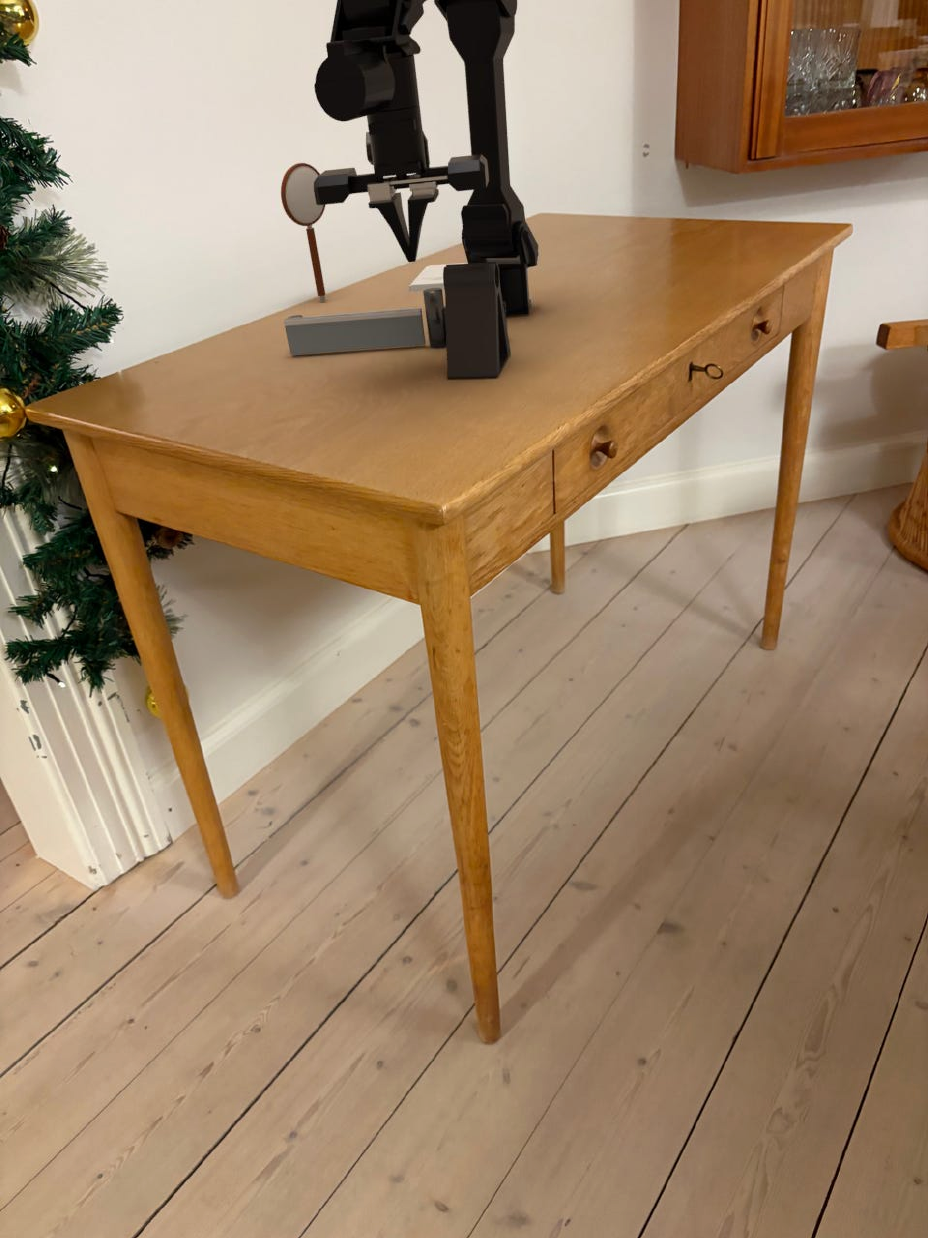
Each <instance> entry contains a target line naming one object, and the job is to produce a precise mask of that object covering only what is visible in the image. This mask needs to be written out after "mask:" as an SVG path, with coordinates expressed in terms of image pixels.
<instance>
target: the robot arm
mask: <svg viewBox="0 0 928 1238" xmlns="http://www.w3.org/2000/svg"><path fill="white" fill-rule="evenodd" d="M426 1H428V0H336V6H335V10H334V11H335V12H334V18H333V22H332V23H333V24H332V29H331V35H330V40H329V42H326V43H325V44H326V45H325V48H326V53H327V57H326V58H325V59H324V60H323V61H322V62H321V63H320V65H319V67H318V69H317V73H316V76H315V82H314V87H313V88H314V93H315V96H316V101H317V102H318V104H319V107H320V108H321V109H322V111H323V112H324V113H325V114H326V115H327V116H329V118H331V119H333V120H335V121H339V122H349V121H352V120H356V119H360V118H364V117H366V120H367V127H368V131H366V133H365V147H366V148H365V149H366V157H367V161H368V162H369V163H370V165H372V166H373V170H374V173H373V172H372V173H365V174H362V173H361V174H357V170H356V169H355V167H347V168H336V169H327V170H324V171H322V173H320V175H319V176H318V177H317V178H316V180H315V181H314V193H315V199H316V205H325V206H326V205H335V204H344V203H345V201H346V200H347V198H348V197H349V196H350V195H353V194H361V193H362V194H364V193H367V194H368V196H369V202H368V208H369V209H377V211H379V213H380V214H381V217H383V219H384V221H386V223H387V225H388V226H389V228H390V229H391V232H392V233H393V235H394V237H395V239H396V241H397V243H398V246H399V247H400V248H401V251H402V253H403V255H404V256H405V259H406V261H407V262H408V263H415V262H416V261H417V257H418V251H419V250H418V249H419V246H420V245H419V244H420V239H421V232H422V227H423V222H424V217H425V214H426V211H427V208H428V204H429V203H434V202H435V201H436V200H437V198H438V197H439V195H440V191H439V188H438V186H440V185H441V186H442V185H443V186H444V185H449V186H451V187H452V188H453V189H454V191H457V192H464V191H465V192H466V191H472V192H471V195H470V197H469V199H468V201H467V203H466V204H464V205H463V206H462V208H461V211H460V217H461V224H462V229H461V230H462V231H461V243H462V246H463V250H464V254H465V257H466V263H468V264H469V263H487V262H497V264H498V268H499V279H500V289H501V295H502V301H503V302H504V301H505V306H506V317H510V316H511V317H513V316H522V315H523V316H525V315H526V316H527V315H529V314H530V310H531V306H532V299H530V291H529V290H530V289H529V276H528V275H529V273H528V268H532V267H536V266H538V258H539V254H540V253H539V243H538V241H537V240H536V238H535V235H534V234H533V233H532V230H531V229H530V227H529V225H528V223H527V221H526V215H525V207H524V205H523V203H522V201H521V200H520V198H519V196H518V195H517V193H516V192H515V190H514V189H513V187H512V185H511V177H510V175H511V174H510V158H509V156H510V155H509V139H508V138H509V137H508V123H507V107H506V105H507V103H506V87H505V85H506V84H505V72H504V71H505V69H504V67H505V66H504V57H505V56H506V53H507V51H508V48H509V46H510V44H511V42H512V41H513V37H514V35H515V29H516V28H515V26H516V18H515V16H516V14H517V10H518V0H433V3H434V5H435V6H436V8H437V10H438V11H439V12H440V14H441V16H443V18H444V19H445V21H446V23H447V29H448V36H449V41H450V42H451V43H452V45H453V47H454V48H455V50H456V52H457V53H458V55H459V57H460V58H461V60H462V61H463V64H464V74H465V75H464V76H465V86H466V87H465V88H466V101H467V114H468V115H467V116H468V128H469V129H468V130H469V131H468V132H469V142H470V154H471V155H463V156H462V155H461V156H453V157H452V156H451V158H450V159H449V160H448V163H447V165H440V166H433V167H430V165H431V161H430V151H429V140H428V138H427V137H426V135H425V132H424V130H423V124H422V123H423V122H422V121H423V120H422V114H421V105H420V104H421V103H420V96H419V88H418V80H417V71H416V63H415V61H416V60H415V55H419V54H420V53H421V52H422V51H421V50H422V49H421V46H420V45H419V43H418V42H417V41H416V40H415V39H413V38H412V37H411V36H410V35H411V34H412V32H413V28H414V27H416V24H417V23H418V22H419V21H420V20H421V18H422V17H423V16H424V14H425V11H424V3H425V2H426ZM401 189H409V192H411V194H410V196H409V197H408V199H407V217H408V218H407V219H408V220H407V222H408V225H407V222H406V217H405V214H404V209H403V207H404V206H403V200H402V192H397V191H398V190H401Z"/></svg>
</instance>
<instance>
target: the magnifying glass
mask: <svg viewBox="0 0 928 1238" xmlns="http://www.w3.org/2000/svg"><path fill="white" fill-rule="evenodd" d="M320 174H321V173H320V172H319V171H318V170H317V169H316V168H315V167H314V166H312V165H311V164H309V163H305V162H298V163H294V164H293V165H292V166H290V167H289V168H288V169H287V170H286V172H285V174H284V175H283V178H282V182H281V187H280V197H281V203H282V206H283V207H282V208H283V210H284V212H285V214H286V215H287V217H289V219H290V220H291V221H292V223H294V224H296V225H299V226H302V227H306V229H305V231H306V236H307V241H308V248H309V253H310V259H311V264H312V269H313V277H314V280H315V281H314V282H315V287H316V291H317V292H316V293H317V296H318V297H319V300H320V301H321V302H322V301H324V302H325V300H326V298H325V297H326V290H325V284H324V279H323V272H322V267H321V262H320V255H319V251H318V250H319V249H318V245H317V244H318V243H317V239H316V231H315V228H314V227H313V225H314V224H316V223H317V222H319V220H320V219H321V218H322V215H323V214H324V212H325V209H326V205H316V199H315V193H314V181H315V180H316V178H317V177H318V176H319V175H320Z"/></svg>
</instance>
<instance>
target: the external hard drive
mask: <svg viewBox="0 0 928 1238" xmlns="http://www.w3.org/2000/svg"><path fill="white" fill-rule="evenodd" d="M452 264H453V263H446V264H431V265H427V266H425V267H424V269H422V271H421V272H420V273H419V274H418V275H417V276H416V277H415V279H414V280H413V281H412V282H411V283H410V285H408V291H409V292H420V291H424V290H426V289H430V288H441V289H442V290H444V283H443V269H444V267H446V265H452ZM457 264H468V262H462V263H461V262H460V263H457Z"/></svg>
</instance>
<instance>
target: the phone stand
mask: <svg viewBox="0 0 928 1238" xmlns="http://www.w3.org/2000/svg"><path fill="white" fill-rule="evenodd" d="M451 264H452V265H446V267H444V269H443V283H444V289H443V290H444V299H445V301H444V303H445V304H444V306H445V310H446V347H445V348H446V377H447V378H446V379H447V380H451V381H452V380H481V379H483V380H486V379H488V380H489V379H498V378H499V376H500V375H501V372H502V371H503V369H504V368H505V366H506V364H507V362H508V360H509V359H510V357H511V353H512V352H511V346H510V338H509V334H508V333H509V332H507V330H508V325H507V326H506V320H505V314H504V308H503V301H502V295H501V289H500V279H499V268H498V264H497V262H487V263H469V264H458V263H451Z"/></svg>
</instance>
